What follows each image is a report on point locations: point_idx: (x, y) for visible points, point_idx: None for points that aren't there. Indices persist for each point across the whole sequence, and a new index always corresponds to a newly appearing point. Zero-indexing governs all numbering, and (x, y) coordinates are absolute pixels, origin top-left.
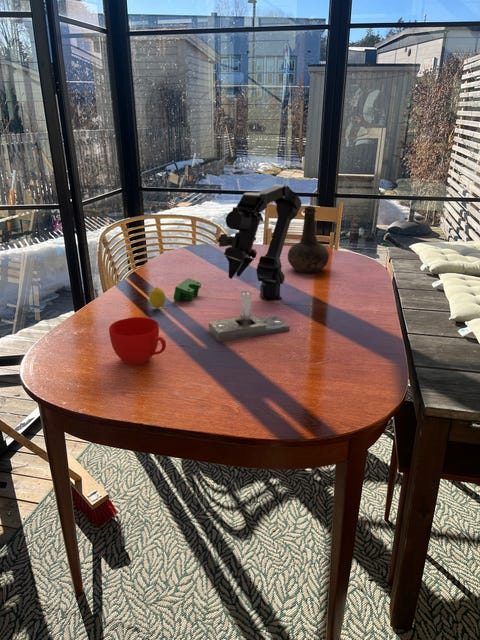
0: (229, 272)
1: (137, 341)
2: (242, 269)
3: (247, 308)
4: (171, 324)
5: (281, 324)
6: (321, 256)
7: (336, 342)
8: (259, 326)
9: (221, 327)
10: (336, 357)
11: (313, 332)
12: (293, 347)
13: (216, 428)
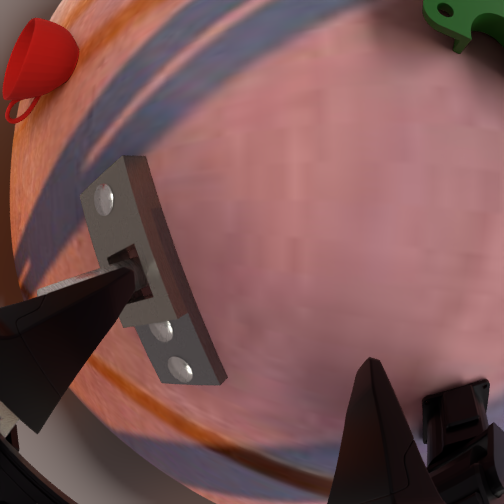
0: (82, 286)
1: (11, 84)
2: (348, 441)
3: None
4: (190, 32)
5: (166, 370)
6: None
7: (142, 417)
8: None
9: (94, 201)
10: (102, 386)
11: (170, 412)
12: (108, 346)
13: (11, 209)
